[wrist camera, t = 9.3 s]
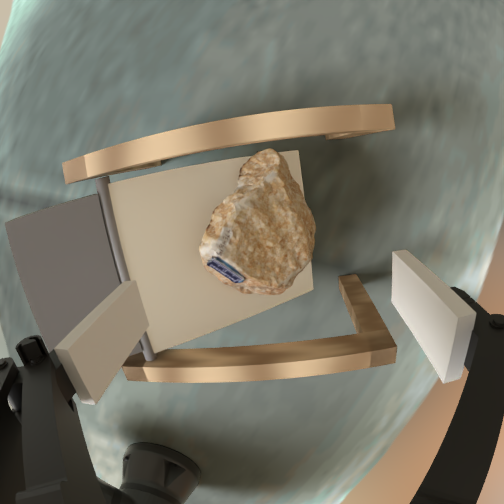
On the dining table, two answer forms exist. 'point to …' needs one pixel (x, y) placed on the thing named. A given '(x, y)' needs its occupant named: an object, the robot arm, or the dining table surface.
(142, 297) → the trapdoor
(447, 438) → the robot arm
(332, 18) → the dining table surface
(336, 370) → the frame
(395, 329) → the dining table surface
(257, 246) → the stone
